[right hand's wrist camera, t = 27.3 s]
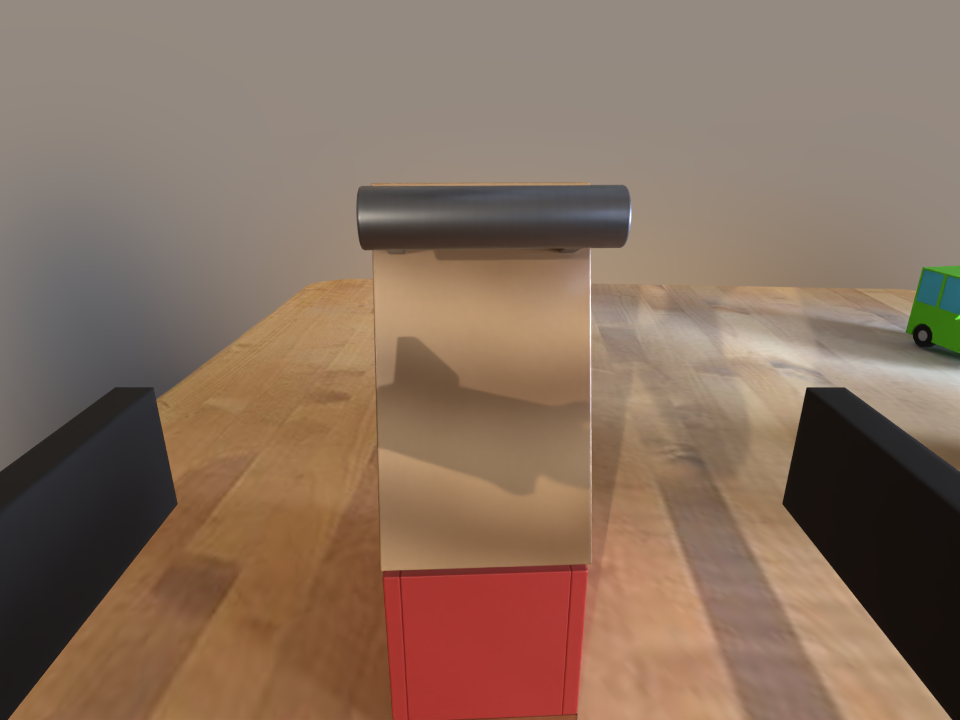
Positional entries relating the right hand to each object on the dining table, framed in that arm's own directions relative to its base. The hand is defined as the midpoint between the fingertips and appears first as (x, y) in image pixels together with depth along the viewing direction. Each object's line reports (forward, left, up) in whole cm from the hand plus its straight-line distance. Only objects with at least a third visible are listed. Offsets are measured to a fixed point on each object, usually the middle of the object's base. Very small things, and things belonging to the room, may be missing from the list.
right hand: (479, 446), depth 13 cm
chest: (+7, -17, -22) cm, 28 cm away
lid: (+5, -13, -4) cm, 14 cm away
